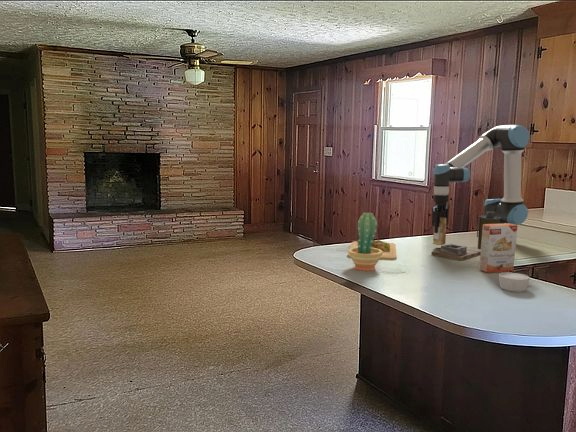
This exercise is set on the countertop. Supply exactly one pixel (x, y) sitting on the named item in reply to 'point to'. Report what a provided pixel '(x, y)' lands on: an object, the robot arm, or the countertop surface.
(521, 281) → the ramekin
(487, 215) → the canister
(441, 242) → the oak peg
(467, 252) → the wick stand
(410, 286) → the countertop surface
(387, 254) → the cutting board
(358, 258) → the potted cactus
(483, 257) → the cracker box
